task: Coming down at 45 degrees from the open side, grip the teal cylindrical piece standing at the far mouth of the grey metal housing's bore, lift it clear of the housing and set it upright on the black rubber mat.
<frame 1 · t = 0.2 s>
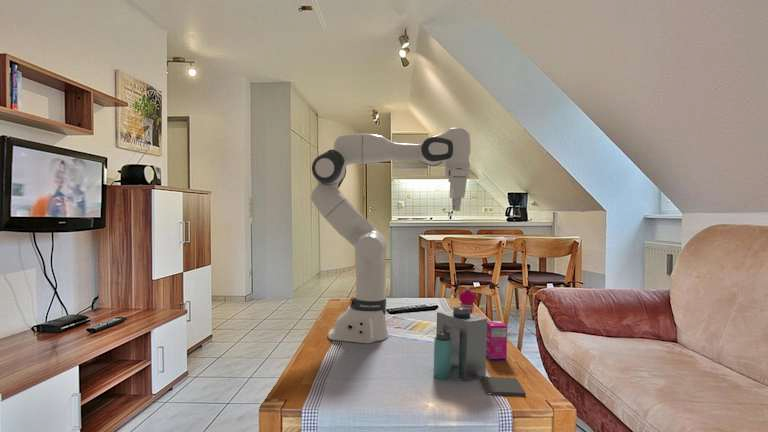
hand: (456, 210, 162), 48 cm above the table, tool pointing down, fingers open, 8 cm apart
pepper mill: (466, 340, 163), on the table
supplement box: (495, 358, 145), on the table
teal cylindrical piece: (442, 376, 128), on the table
mat: (502, 387, 121), on the table
housing: (459, 371, 132), on the table
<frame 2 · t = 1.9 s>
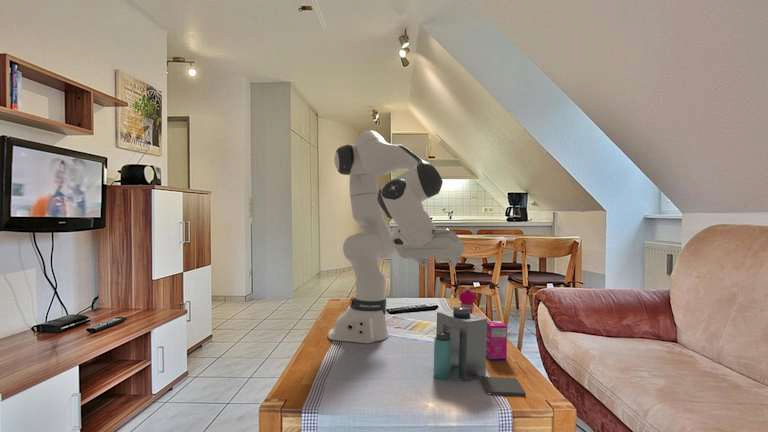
hand: (439, 265, 128), 32 cm above the table, tool tilted 45°, fingers open, 8 cm apart
nothing on the table moved.
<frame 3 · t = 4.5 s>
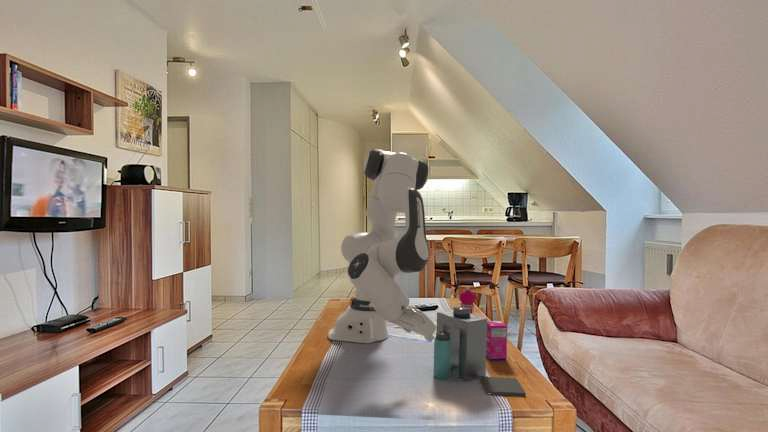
hand: (420, 334, 122), 13 cm above the table, tool tilted 45°, fingers open, 8 cm apart
nothing on the table moved.
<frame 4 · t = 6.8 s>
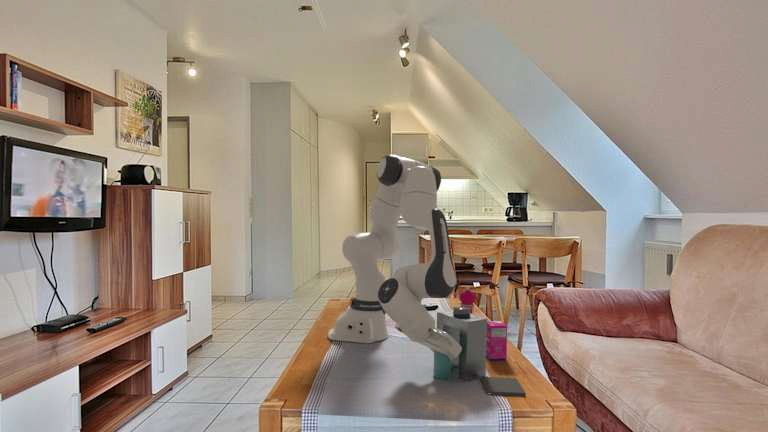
hand: (444, 354, 128), 6 cm above the table, tool tilted 45°, fingers closed on teal cylindrical piece, 5 cm apart
teal cylindrical piece: (442, 376, 128), on the table, touching gripper
everything else where it was.
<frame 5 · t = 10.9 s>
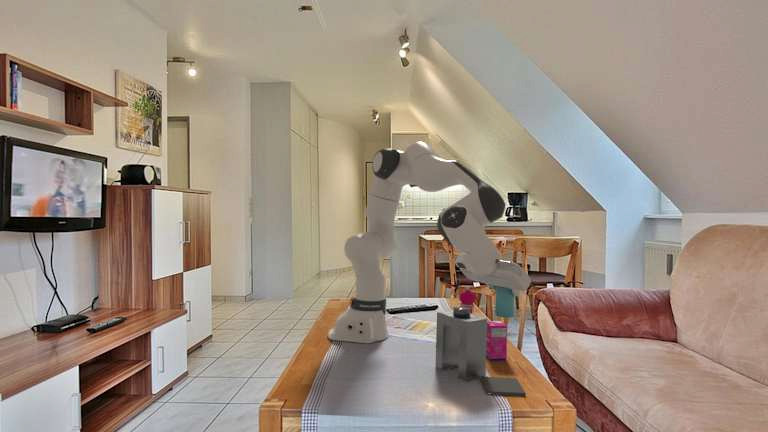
hand: (506, 292, 121), 26 cm above the table, tool tilted 45°, fingers closed on teal cylindrical piece, 5 cm apart
teal cylindrical piece: (504, 315, 120), point 20 cm above the table, touching gripper
everything else where it was.
when the fingers open (9 cm above the table, at t = 14.6 s): teal cylindrical piece drops 1 cm, resting on mat.
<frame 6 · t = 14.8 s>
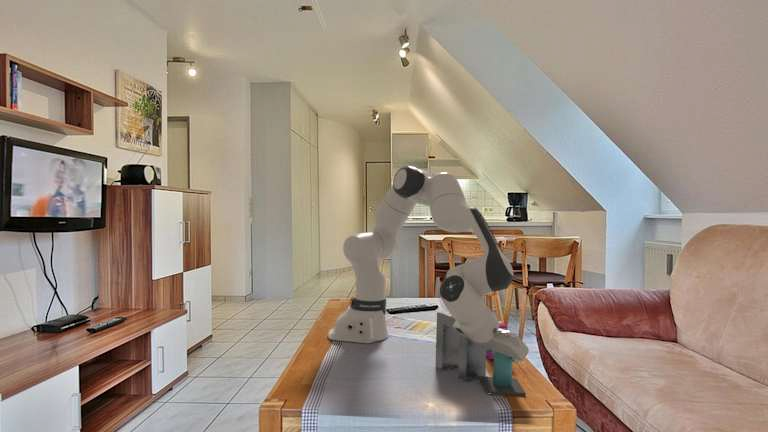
hand: (504, 355, 121), 9 cm above the table, tool tilted 45°, fingers open, 7 cm apart
teal cylindrical piece: (502, 384, 121), point 1 cm above the table, touching mat
everything else where it was.
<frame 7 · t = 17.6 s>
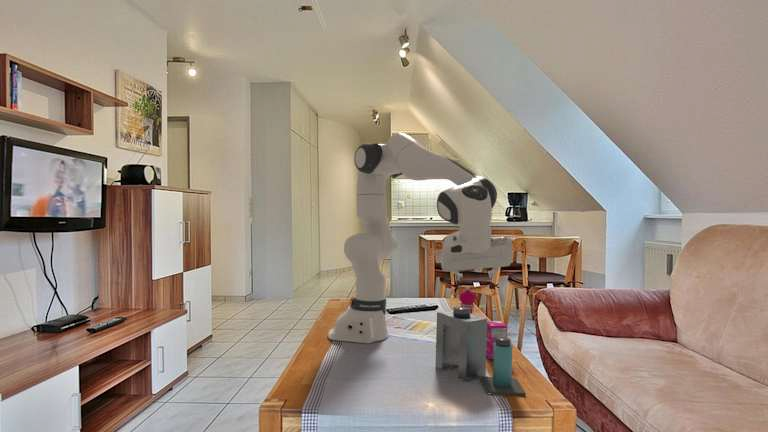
hand: (475, 278, 132), 28 cm above the table, tool tilted 30°, fingers open, 8 cm apart
nothing on the table moved.
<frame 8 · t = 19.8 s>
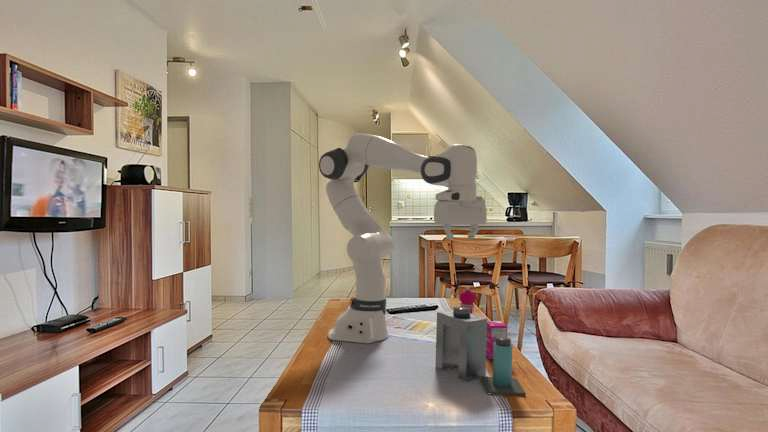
hand: (460, 238, 140), 39 cm above the table, tool pointing down, fingers open, 8 cm apart
nothing on the table moved.
at the end: teal cylindrical piece inside the target area on the mat (0.1 cm from its centre), point 0.8 cm above the mat's base; teal cylindrical piece tilted 1°; the gripper is holding nothing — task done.
